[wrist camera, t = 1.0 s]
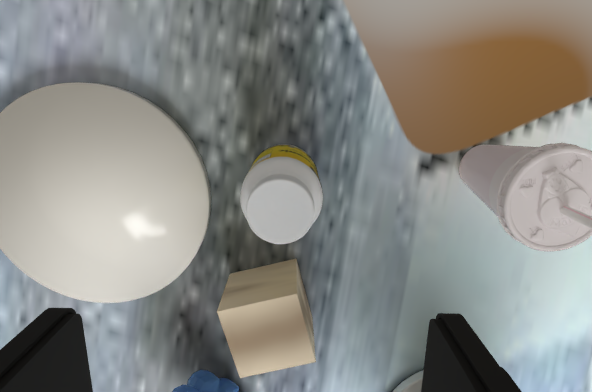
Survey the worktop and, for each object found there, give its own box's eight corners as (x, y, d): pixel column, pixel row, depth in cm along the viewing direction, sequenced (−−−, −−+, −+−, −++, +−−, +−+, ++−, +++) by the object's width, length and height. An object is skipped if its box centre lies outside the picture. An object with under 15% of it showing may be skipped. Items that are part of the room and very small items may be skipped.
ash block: (312, 316, 35) (315, 362, 30) (248, 330, 36) (239, 378, 30) (296, 258, 34) (296, 293, 28) (229, 273, 34) (216, 311, 28)
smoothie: (459, 217, 33) (575, 310, 19) (429, 151, 31) (532, 201, 18) (532, 182, 32) (706, 253, 18) (505, 112, 30) (674, 134, 17)
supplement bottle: (331, 177, 32) (346, 215, 22) (283, 220, 33) (278, 274, 23) (285, 128, 31) (281, 147, 21) (237, 174, 32) (212, 212, 22)
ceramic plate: (215, 295, 35) (211, 304, 33) (11, 292, 34) (-1, 301, 33) (206, 84, 30) (201, 84, 28) (-32, 80, 30) (-49, 80, 28)
